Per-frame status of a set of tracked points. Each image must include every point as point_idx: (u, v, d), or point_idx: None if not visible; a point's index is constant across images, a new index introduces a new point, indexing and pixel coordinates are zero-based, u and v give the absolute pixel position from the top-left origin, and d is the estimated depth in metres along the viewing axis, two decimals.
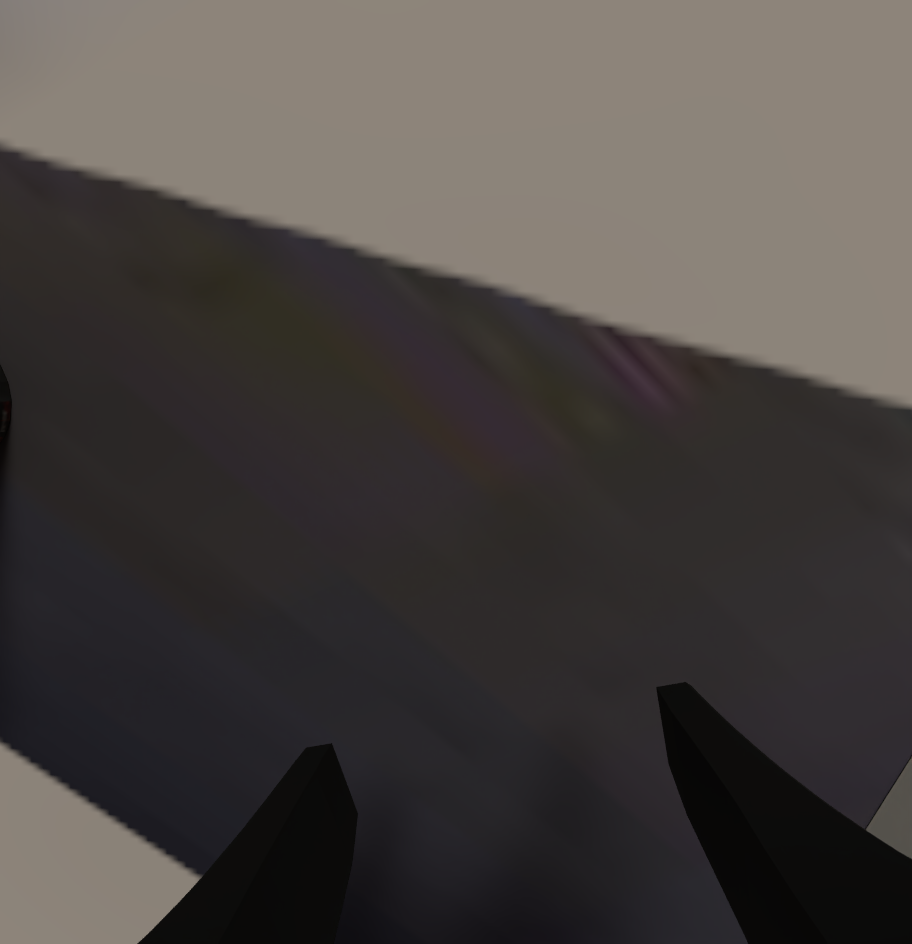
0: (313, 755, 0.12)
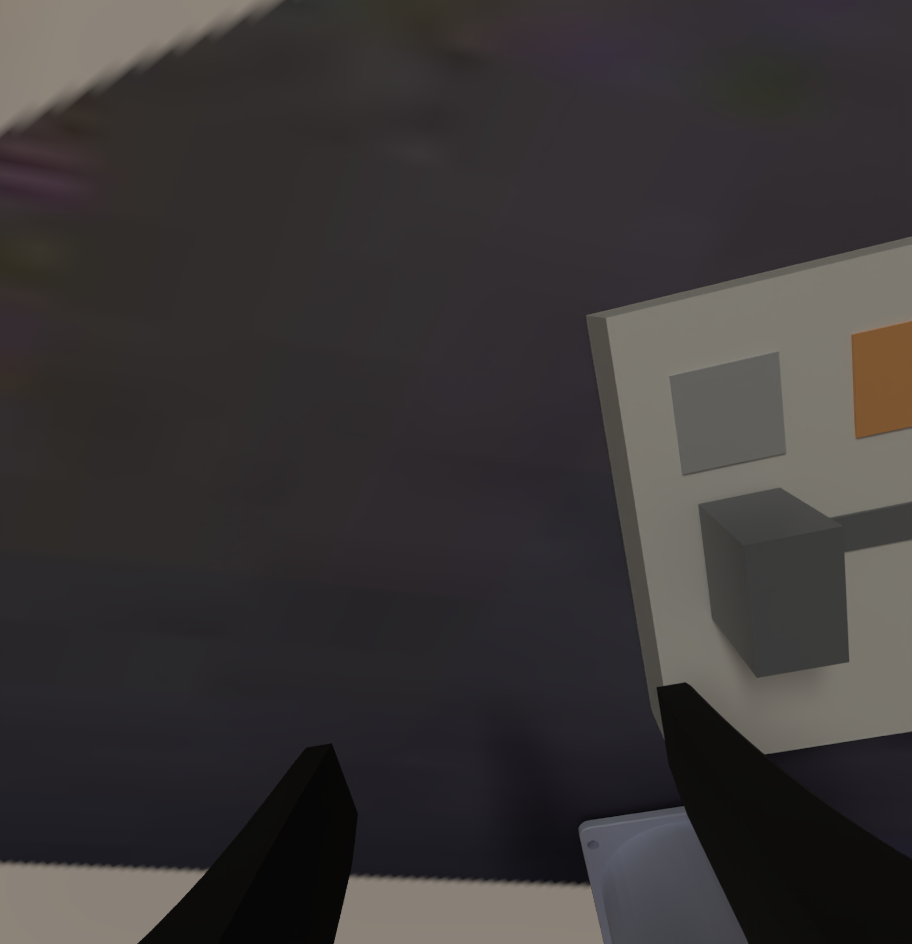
0: (313, 754, 0.12)
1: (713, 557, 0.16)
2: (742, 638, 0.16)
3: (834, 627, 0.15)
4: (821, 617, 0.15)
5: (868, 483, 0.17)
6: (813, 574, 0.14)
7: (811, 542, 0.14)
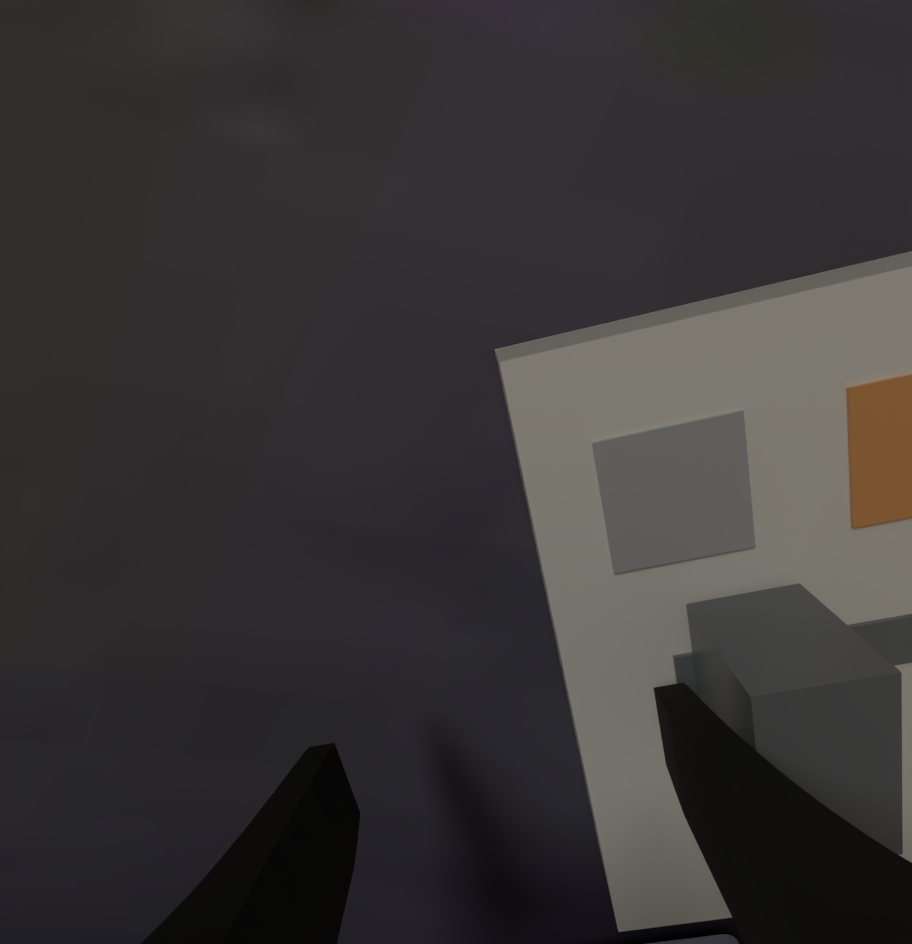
0: (315, 754, 0.12)
1: (707, 682, 0.12)
2: None
3: (881, 809, 0.10)
4: (864, 795, 0.10)
5: (869, 587, 0.12)
6: (854, 737, 0.10)
7: (852, 694, 0.09)
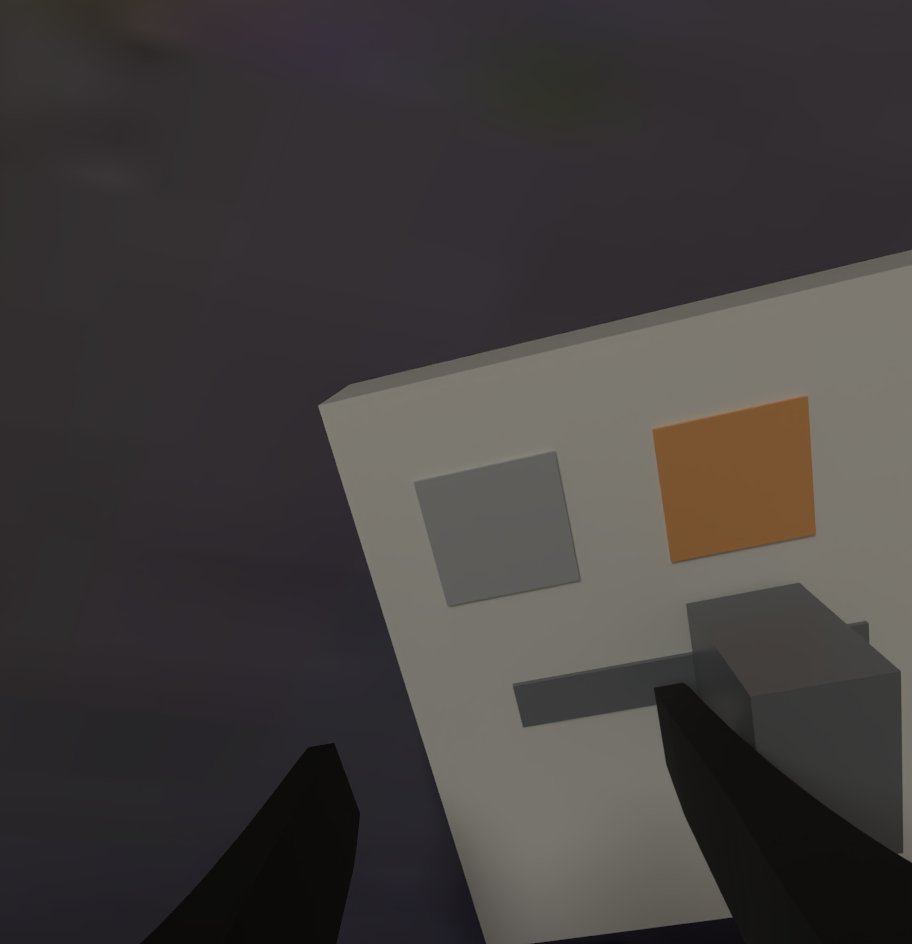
0: (315, 754, 0.12)
1: (707, 682, 0.12)
2: None
3: (882, 808, 0.10)
4: (863, 793, 0.10)
5: None
6: (854, 736, 0.10)
7: (853, 693, 0.09)
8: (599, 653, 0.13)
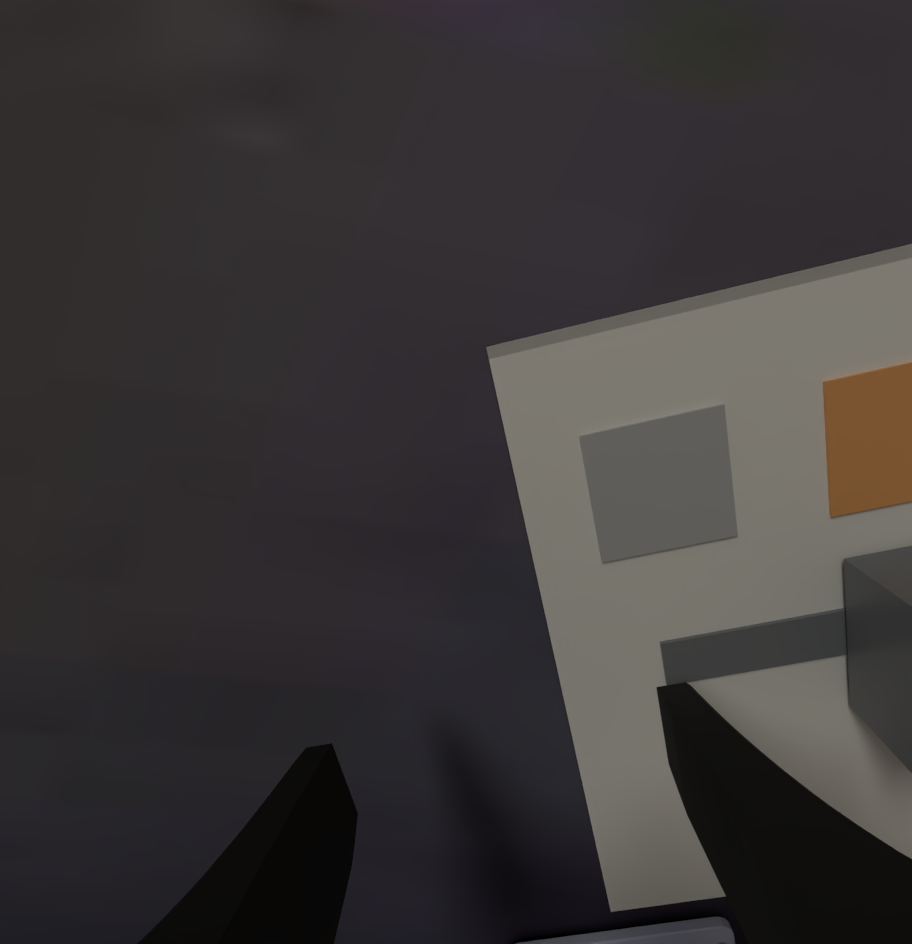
0: (313, 754, 0.12)
1: (870, 634, 0.12)
2: None
3: None
4: None
5: None
6: None
7: None
8: (749, 610, 0.13)
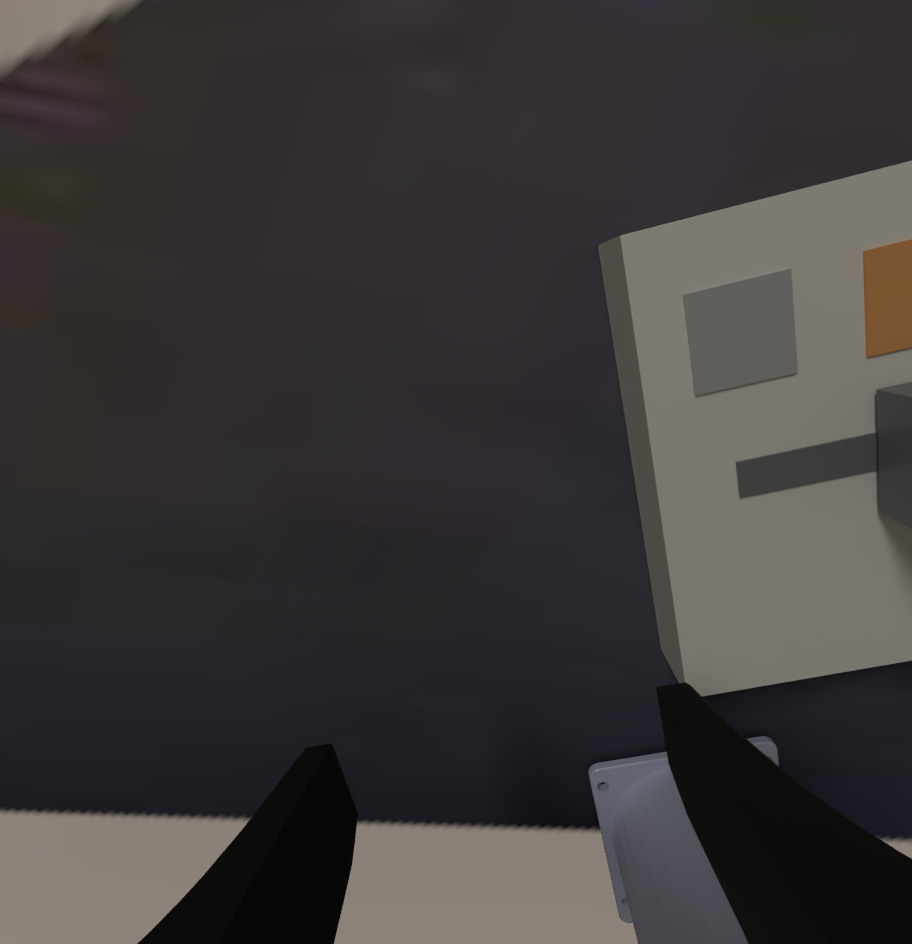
0: (313, 754, 0.12)
1: (897, 441, 0.16)
2: None
3: None
4: None
5: None
6: None
7: None
8: (804, 434, 0.17)
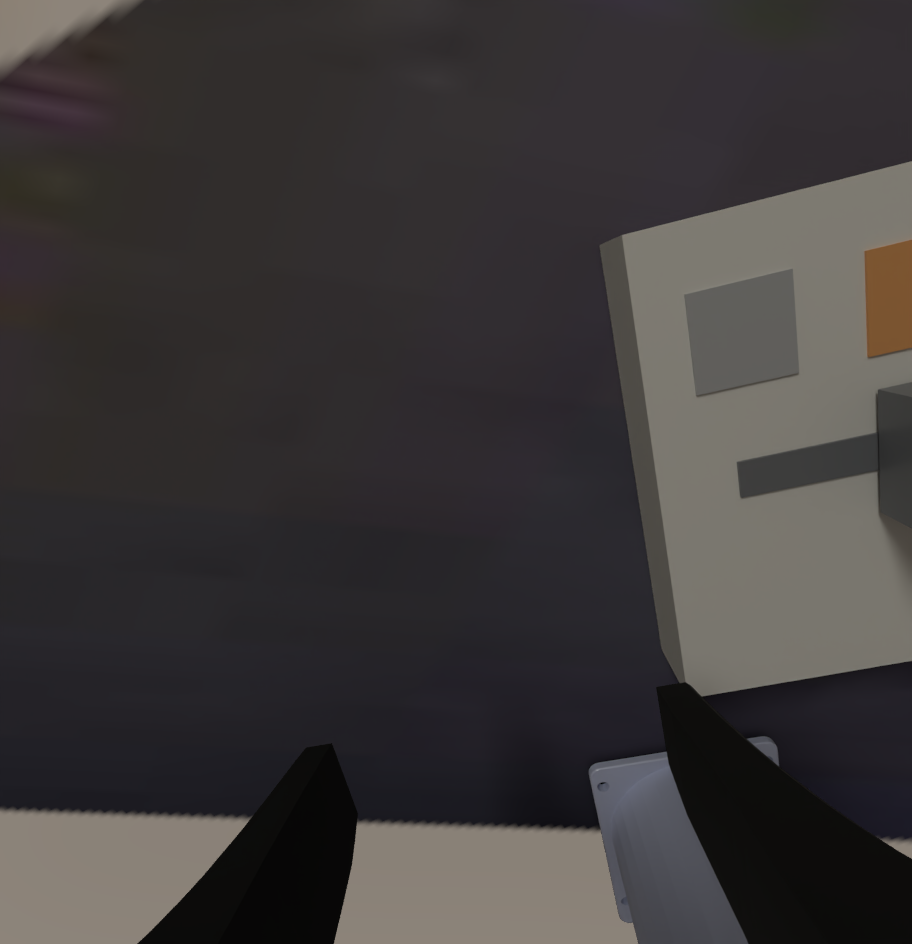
0: (313, 754, 0.12)
1: (898, 441, 0.16)
2: None
3: None
4: None
5: None
6: None
7: None
8: (805, 434, 0.17)
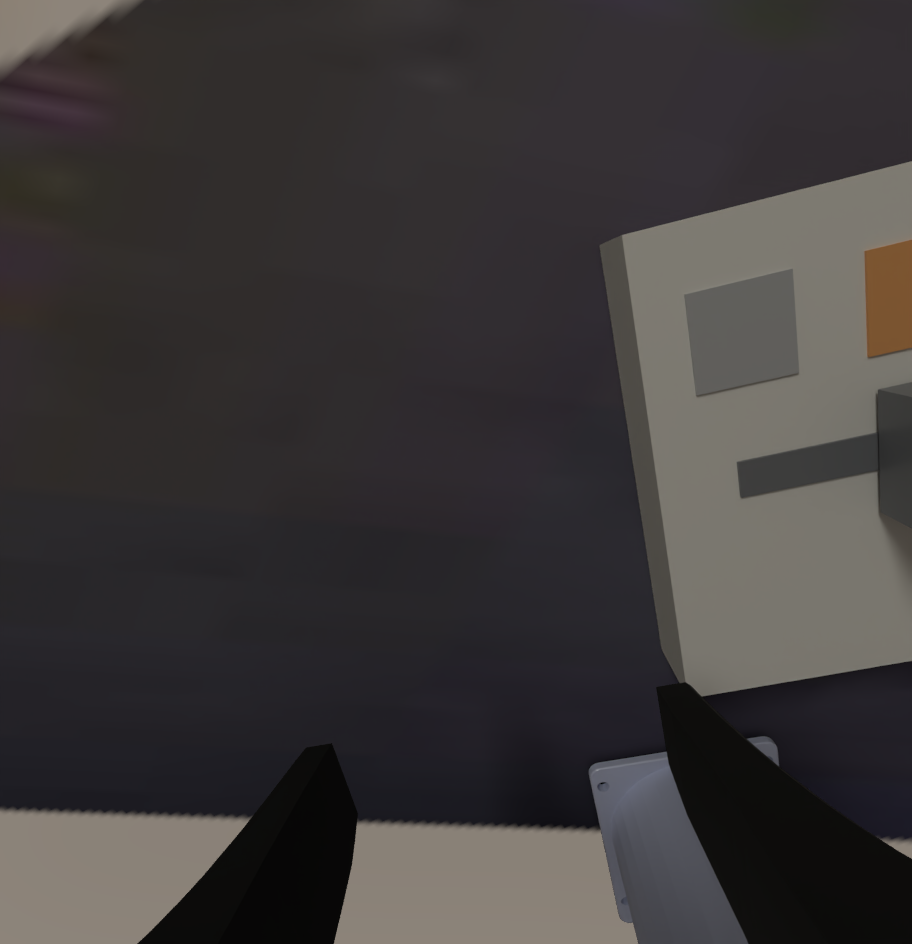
0: (313, 754, 0.12)
1: (898, 441, 0.16)
2: None
3: None
4: None
5: None
6: None
7: None
8: (805, 434, 0.17)
